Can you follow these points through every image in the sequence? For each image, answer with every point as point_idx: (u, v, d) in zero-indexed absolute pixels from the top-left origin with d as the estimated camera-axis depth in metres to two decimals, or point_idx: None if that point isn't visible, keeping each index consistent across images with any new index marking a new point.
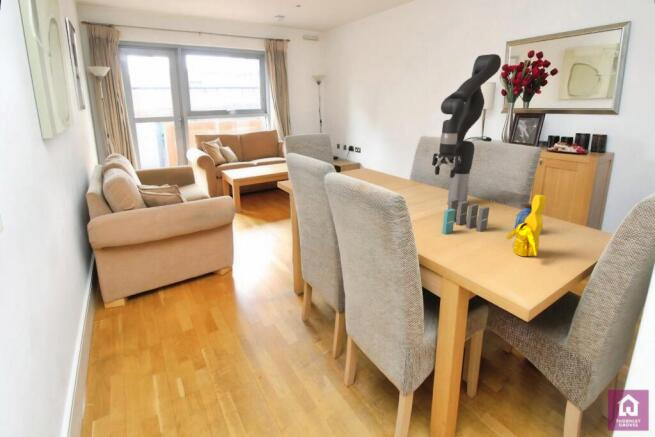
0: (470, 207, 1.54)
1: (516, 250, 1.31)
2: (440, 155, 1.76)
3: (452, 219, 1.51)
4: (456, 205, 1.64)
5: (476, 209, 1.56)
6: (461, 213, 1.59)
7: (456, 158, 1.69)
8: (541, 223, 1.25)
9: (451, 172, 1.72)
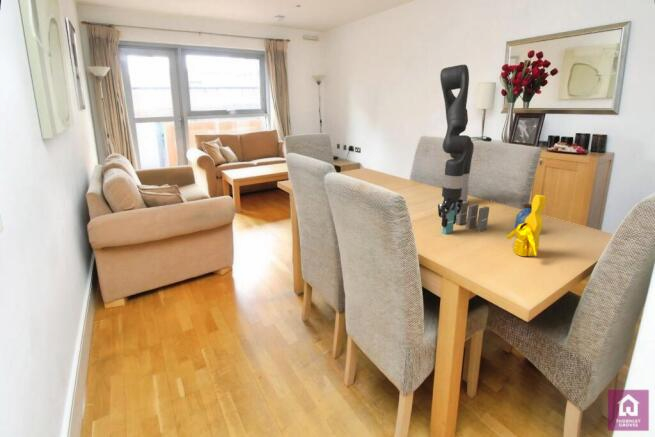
0: (470, 207, 1.54)
1: (516, 250, 1.31)
2: (448, 202, 1.45)
3: (452, 219, 1.51)
4: None
5: (476, 209, 1.56)
6: (461, 213, 1.59)
7: (462, 201, 1.51)
8: (541, 223, 1.25)
9: (455, 218, 1.51)
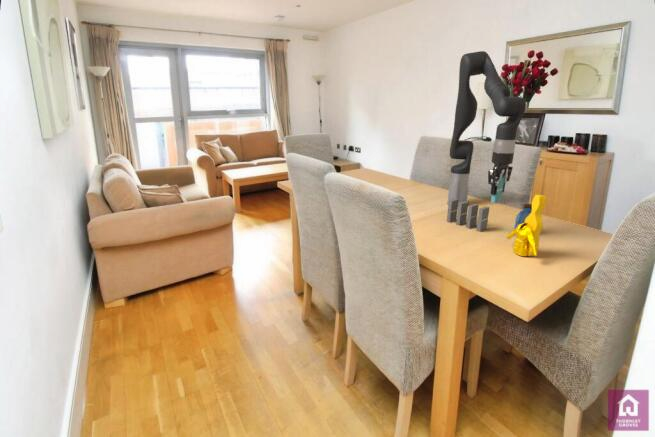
0: (470, 207, 1.54)
1: (516, 250, 1.30)
2: (499, 168, 1.40)
3: (501, 187, 1.45)
4: (456, 205, 1.64)
5: (476, 209, 1.56)
6: (461, 213, 1.59)
7: (511, 168, 1.45)
8: (541, 223, 1.25)
9: (504, 186, 1.45)
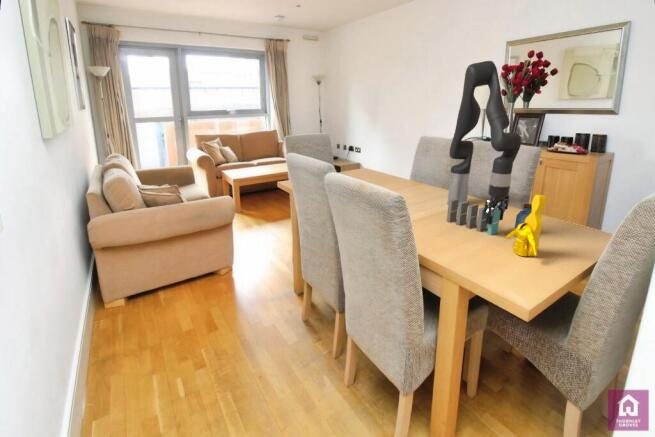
0: (470, 207, 1.54)
1: (516, 250, 1.31)
2: (496, 200, 1.44)
3: (497, 220, 1.49)
4: (456, 205, 1.64)
5: (476, 209, 1.56)
6: (461, 213, 1.59)
7: (508, 197, 1.49)
8: (541, 223, 1.25)
9: (503, 214, 1.50)
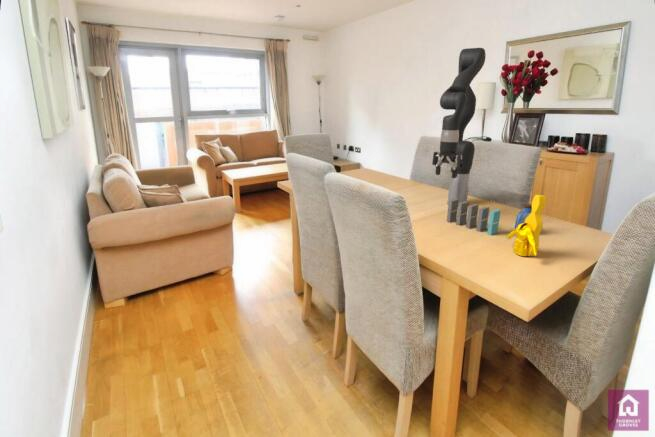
0: (470, 207, 1.54)
1: (516, 250, 1.30)
2: None
3: (497, 220, 1.49)
4: (456, 205, 1.64)
5: (476, 209, 1.56)
6: (461, 213, 1.59)
7: None
8: (541, 223, 1.25)
9: None
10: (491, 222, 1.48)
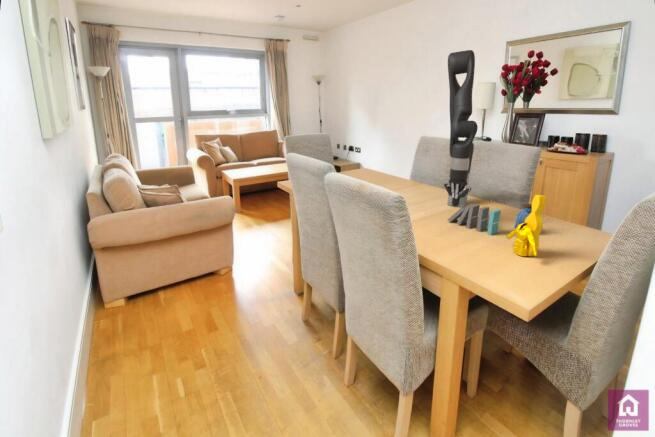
0: (471, 207, 1.54)
1: (516, 250, 1.31)
2: None
3: (497, 220, 1.49)
4: None
5: (477, 209, 1.56)
6: (465, 215, 1.58)
7: None
8: (541, 223, 1.25)
9: None
10: (491, 222, 1.48)
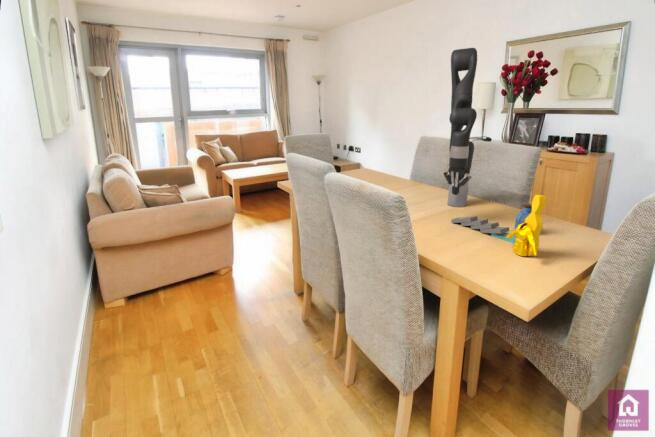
0: (489, 226, 1.48)
1: (516, 250, 1.30)
2: None
3: None
4: None
5: None
6: None
7: None
8: (541, 223, 1.25)
9: None
10: (503, 239, 1.44)
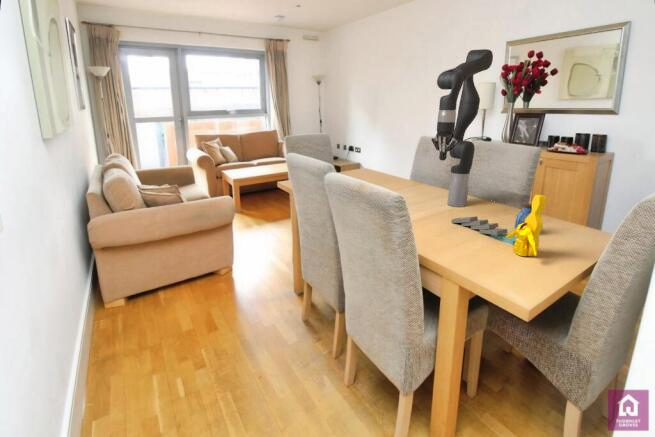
0: (488, 227, 1.47)
1: (516, 250, 1.31)
2: None
3: None
4: None
5: None
6: None
7: None
8: (541, 223, 1.25)
9: None
10: (502, 239, 1.43)
